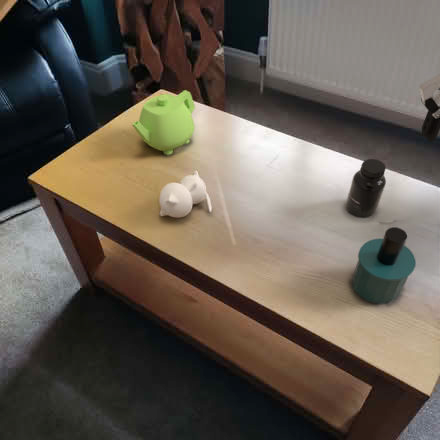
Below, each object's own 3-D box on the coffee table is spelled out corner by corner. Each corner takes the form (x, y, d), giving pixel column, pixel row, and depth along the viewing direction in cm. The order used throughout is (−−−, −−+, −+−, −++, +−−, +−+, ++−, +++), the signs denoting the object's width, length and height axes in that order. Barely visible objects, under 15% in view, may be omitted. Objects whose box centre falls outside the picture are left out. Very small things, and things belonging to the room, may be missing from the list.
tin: (389, 263, 88) (400, 238, 82) (408, 299, 82) (421, 275, 76) (345, 270, 87) (353, 245, 81) (362, 307, 81) (371, 282, 76)
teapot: (157, 169, 109) (149, 124, 99) (123, 149, 115) (112, 105, 105) (211, 134, 118) (208, 89, 108) (177, 117, 123) (172, 73, 113)
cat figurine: (197, 159, 95) (157, 185, 90) (227, 197, 96) (189, 225, 91) (185, 178, 103) (147, 203, 98) (212, 213, 104) (177, 239, 98)
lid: (400, 238, 82) (411, 210, 77) (423, 278, 76) (437, 251, 71) (349, 246, 82) (357, 218, 76) (369, 287, 76) (379, 260, 70)
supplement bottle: (342, 215, 96) (353, 171, 87) (348, 196, 100) (359, 152, 91) (373, 223, 95) (388, 178, 85) (378, 203, 98) (393, 158, 89)
